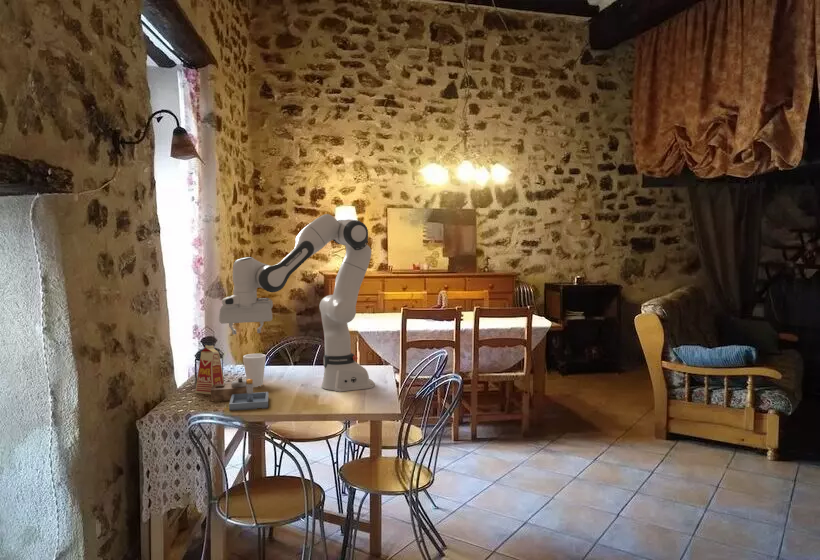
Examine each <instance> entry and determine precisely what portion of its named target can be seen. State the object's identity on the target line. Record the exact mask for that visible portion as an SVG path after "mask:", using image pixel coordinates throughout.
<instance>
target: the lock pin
mask: <svg viewBox="0 0 820 560" xmlns="http://www.w3.org/2000/svg"><path fill="white" fill-rule="evenodd" d="M245 380H246V390H247V402H253V393H254V387H253V379H245Z"/></svg>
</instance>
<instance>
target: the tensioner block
mask: <svg viewBox="0 0 820 560" xmlns="http://www.w3.org/2000/svg"><path fill="white" fill-rule="evenodd" d="M246 380H247V379H243V378H242V377H238V379H236V380H233V381H231V383H224V384H220V385H213V386H212V389H211V394H210V401H211V402H213V401H212V400H223V401H230V400H231V396H232V394H241V393H247V390H246Z"/></svg>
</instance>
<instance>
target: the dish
mask: <svg viewBox="0 0 820 560" xmlns="http://www.w3.org/2000/svg"><path fill="white" fill-rule="evenodd" d="M269 398H270V397H269V391H261V392H253V402H247V393H241V394H232V396H231V400H229V404H228V407H229V408H228V410H229V412H230V411H231V410H232V411H243V410H258V409H257V408H262V409H269Z"/></svg>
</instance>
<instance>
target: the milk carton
mask: <svg viewBox="0 0 820 560" xmlns="http://www.w3.org/2000/svg"><path fill="white" fill-rule="evenodd" d="M204 346H205V348H204V349H203V350H202V351H200V359H199V365H198V373H197V378H196V384H195V385H196V386H195V390H194V391H195V394H205V395H211V389H212V386H213V385H220V384H225V380H224V373H223V367H222V362H221V357H220V352H219V351H218V350H217V349H215V348H214V347H215V346H214V345H207V344H205V345H204Z"/></svg>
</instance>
